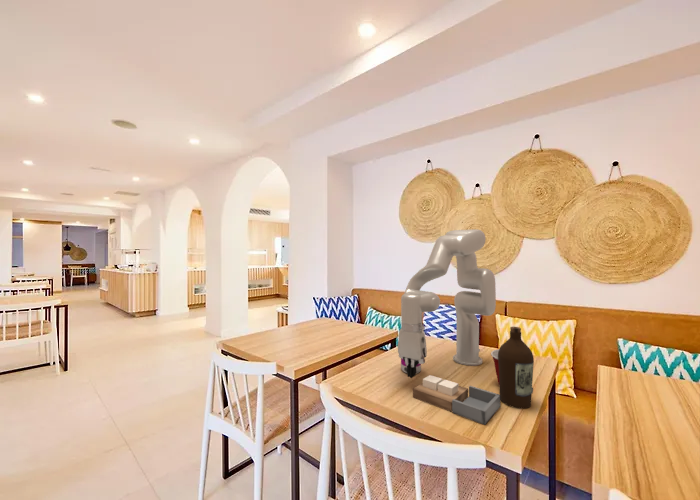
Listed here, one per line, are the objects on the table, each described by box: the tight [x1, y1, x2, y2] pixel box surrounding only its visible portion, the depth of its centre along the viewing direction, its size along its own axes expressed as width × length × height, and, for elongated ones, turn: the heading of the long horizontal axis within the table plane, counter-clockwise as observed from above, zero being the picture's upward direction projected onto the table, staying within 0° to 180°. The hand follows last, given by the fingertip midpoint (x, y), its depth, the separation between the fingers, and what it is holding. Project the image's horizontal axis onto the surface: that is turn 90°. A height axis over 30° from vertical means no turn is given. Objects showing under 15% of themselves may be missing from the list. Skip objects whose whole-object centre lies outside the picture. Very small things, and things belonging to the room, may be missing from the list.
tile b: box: [438, 379, 459, 396], centre depth 108 cm, size 5×5×2 cm
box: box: [452, 385, 502, 426], centre depth 101 cm, size 14×10×4 cm
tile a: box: [422, 374, 444, 391], centre depth 112 cm, size 5×5×2 cm
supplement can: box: [400, 358, 422, 375], centre depth 133 cm, size 8×8×15 cm
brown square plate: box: [412, 382, 469, 413], centre depth 110 cm, size 13×14×3 cm
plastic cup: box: [490, 348, 500, 387], centre depth 118 cm, size 11×11×12 cm
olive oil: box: [498, 326, 535, 409], centre depth 106 cm, size 11×11×25 cm
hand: (411, 376), depth 117 cm, fingers closed
